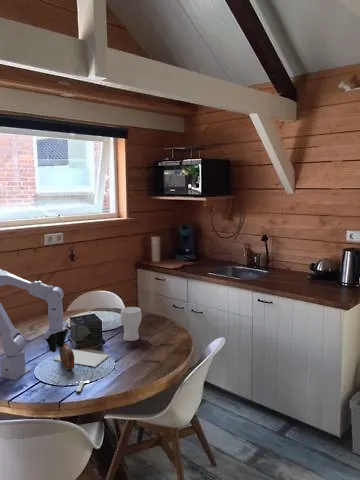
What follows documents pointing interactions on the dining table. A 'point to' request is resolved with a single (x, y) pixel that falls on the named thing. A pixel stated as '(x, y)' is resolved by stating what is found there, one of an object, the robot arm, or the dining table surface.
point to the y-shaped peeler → (81, 386)
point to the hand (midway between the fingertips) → (57, 349)
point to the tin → (67, 356)
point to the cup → (131, 322)
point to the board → (86, 358)
